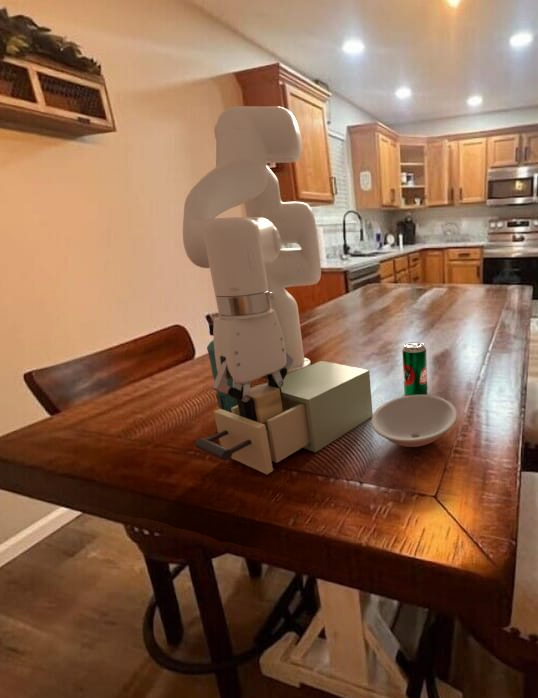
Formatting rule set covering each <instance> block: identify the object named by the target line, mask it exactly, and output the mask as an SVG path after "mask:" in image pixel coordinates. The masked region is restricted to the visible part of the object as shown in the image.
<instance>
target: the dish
mask: <svg viewBox="0 0 538 698" xmlns="http://www.w3.org/2000/svg"><path fill="white" fill-rule="evenodd" d="M372 414H373V416H372V417H371V425H372V426H371V427H372V428H373V430H374V431H375V433H376V434H378V435H379V436H381V437H382V438H385V439H386V440H387V441H390V442H391V443H393V444H394V445H398V446H400V447H405V448H417V447H423V446H426V445H429V444H431V443H433V442H435V441H437V440H438V439H439V438H441V437H442V436H443V435H444V434H445V433H446V432H448V431H449V430H450V429H451V428H453V426H454V425H455V424H456V421H457V418H458V411H457V409H456V407H455V405H454V404H452V402H451V401H449V400H447V399H445V398H443V397H440V396H436V395H431V394H427V395H409V396H405V395H404V396H400V397H397V398H394V399H391V400H389V401H387V402H384V403H383V404H382V405H380V406H379V407H378V408H377V409H376V410H375V411H374V413H372Z"/></svg>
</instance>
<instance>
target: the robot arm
mask: <svg viewBox="0 0 538 698" xmlns="http://www.w3.org/2000/svg"><path fill="white" fill-rule="evenodd" d="M213 132H214V138H215V142H216V143H215V147H216V148H215V149H216V150H215V167H214V168H213V169H211V170H210V171H209V172H207V173H206V174H205V175H204V176H203V177H202V178H201V179H200V180H199V181H198V182H197V183H195V185H194V186H193V187H192V188H191V190H190V191H189V193H188V194H187V196H186V198H185V202H184V207H183V218H182V243H183V247H184V251H185V254H186V257H187V258H188V259H189V261H190V262H191V263H192V264H193V265H195V266H197V267H199V268H202V269H209V270H210V276H211V282H212V286H213V291H214V296H215V302H216V306H217V307H216V308H217V313H218V316H217V317H214V318H213V323H214V327H213V336H212V337H213V339H212V340H214V352H215V360H216V367H217V372H218V374H217V377H216V379H215V382H214V381H213V384H212V389H213V390H214V391H216V392H217V391H219V392H222V393H225V394H228V395H229V396H231V397H233V398H235V399H237V403H238V408H239V413H240V416H242V417H244V418H247V419H250V420H253V421H256V422H257V416H256V411H255V405H254V401H253V400H252V399H250V388H251V382H252V381H255V380H258V379H260V378H263V377H264V378H265V380H266V383H268V386H272V387H275V388H279V389H280V395H281V402H282V408H283V398H282V392H281V387H282V386H283V385H284V382H283V380H284V378H285V376H286V375H287V374H290V373H292V372H295V371H297V370H300V369H302V368H305V367H307V366H310V365H312V364H311V363H312V362H311V360H310V359H309V358H307V357H305V353H304V346H303V338H302V331H301V323H300V315H299V306H298V303H297V301H296V299H295V298H294V296H293V295H291V293H290V292H288V290H287V289H286V288H290V287H302V286H303V287H305V286H313V285H316V284H318V283H319V282H320V280H321V278H322V266H321V257H320V249H319V240H318V239H319V238H318V232H317V224H316V218H315V214H314V212H313V209H312V208H311V206H310V205H309V204H308V203H306V202H304V201H303V202H302V201H285V202H284V201H283V200H282V198H281V191H280V184H279V179H278V177H277V176H276V174H275V173H274V172H273V171H272V169H270V167H269V166H268V164H280V163H281V164H283V163H284V164H285V163H286V164H288V163H296V162H298V161H299V160H300V159H301V157H302V153H303V152H302V151H303V141H302V135H301V131H300V127H299V124H298V121H297V119H296V117H295V116H294V114H293V113H292V112H291V111H290V110H289V109H287V108H285V107H282V106H275V105H273V106H266V105H265V106H262V105H261V106H260V105H257V106H256V105H255V106H254V105H253V106H251V105H250V106H249V105H239V106H238V105H237V106H232V107H228V108H225V109H224V110H223V111H222V112H221V113H220V114H219V115H218V117H217V121H216V123H215V125H214V131H213ZM241 205H244V211H245V215H246V216H244V217H242V216H239V217H238V216H237V217H235V216H234V217H233V216H232V217H218V216H219V215H221V214H222V213H224V212H226V211H228V210H231V209H233V208H235V207H238V206H241ZM282 244H283V245H285V244H296V245H298V246H299V247H293V248H282ZM232 378H233V387H231V386H228V384H227V382H228V380H229V379H232ZM283 409H284V408H283Z"/></svg>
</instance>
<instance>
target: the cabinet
mask: <svg viewBox="0 0 538 698" xmlns="http://www.w3.org/2000/svg"><path fill="white" fill-rule="evenodd" d="M283 382H284V385H283V386H282V387H281V392H282V397H285V398H288V399H291V400H295V401H298V402H302V403H305V404H306V410H307V418H308V426H309V433H310V441H311V443H309V444H307V445H306V446H304V447H302V448H301V449H305V450H308V451H311V452H313V453H317V452H318V451H320V450H322V449H323V448H325V447H327V446H328V445H329V444H331V443H333V442H335V441H336V440H337V439H339V438H340V437H342V436H344V435H346V434H347V433H349V432H351V430H353V429H355V428H356V427H358V426H359V425H361V424H363V423H364V422H366V421H367V420H369V419H370V418H372V417H373V414H374V413H373V403H372V402H373V401H372V390H371V389H372V388H371V376H370V369H364V368H362V367H361V368H360V367H355V366H350V365H346V364H341V363H335V362H329V361H326V360H325V361H324V360H320V361H317V362H316V363H312V364H311V365H310V366H307V367H305V368H302V369H300V370H297V371H295V372H292V373H290V374H287V375H286V376H285V378H284V380H283ZM263 384H264V385H268V383H267V382H265V383H263Z"/></svg>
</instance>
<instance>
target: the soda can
mask: <svg viewBox="0 0 538 698" xmlns="http://www.w3.org/2000/svg"><path fill="white" fill-rule="evenodd" d="M401 351H402V370H403V393H404V394H403V395H404V396H409V395H428V363H427V361H428V360H427V348H426V346H425V343H423V342H419V341H411V342H406V343H404V344H403V348H402V350H401Z"/></svg>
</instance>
